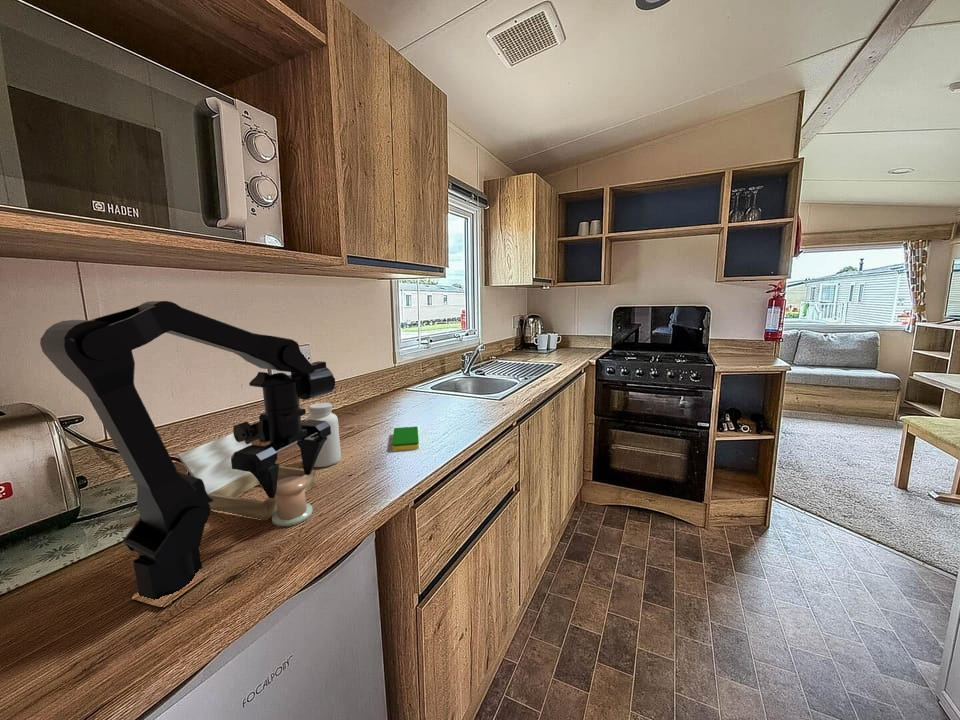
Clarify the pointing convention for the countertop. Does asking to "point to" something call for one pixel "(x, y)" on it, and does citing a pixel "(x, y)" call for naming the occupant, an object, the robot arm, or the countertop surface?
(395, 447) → the dish sponge
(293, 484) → the tan knob
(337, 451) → the pill bottle
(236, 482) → the cold frame
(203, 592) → the countertop surface
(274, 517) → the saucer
